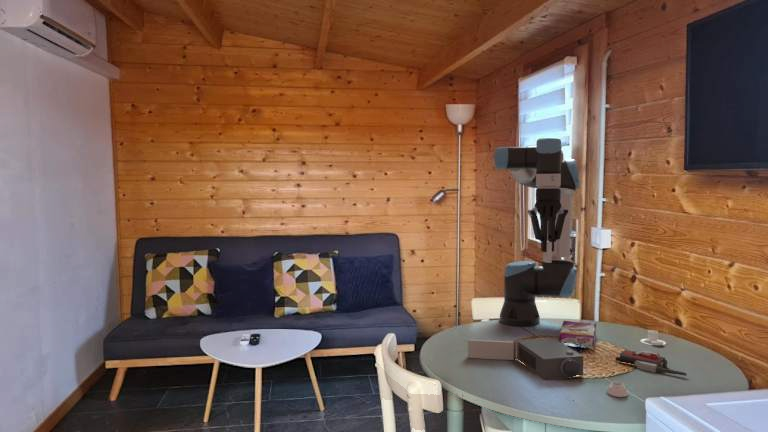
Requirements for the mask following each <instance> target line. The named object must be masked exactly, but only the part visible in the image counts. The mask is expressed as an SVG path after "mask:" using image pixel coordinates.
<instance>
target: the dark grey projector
mask: <svg viewBox="0 0 768 432" xmlns="http://www.w3.org/2000/svg"><path fill="white" fill-rule="evenodd" d="M517 359H518V360H520V361H521V362H523V363H524V364H525V365H526V366H525V368H527V369H528V370H529V371H531V372H533V374H535V375H536V376H537V377H538V378H540V379H542V380H543V381H549V380H550V381H551V380H562V379H563V380H564V379H570V378H569V377H573V376H576V375H583V376H584V355H583V354H581V353H579V352H577V351H576V350H573V349H572V347H567V346H565V345H564V344H562V343H560V342H559V340H557V339H555V338H554V337H550V338H549V337H548V338H547V337H546V338H536V339H535V338H534V339H533V338H532V339H521V340H520V339H519V340H516V360H517ZM518 360H517V361H518Z"/></svg>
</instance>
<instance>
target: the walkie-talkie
mask: <svg viewBox="0 0 768 432" xmlns="http://www.w3.org/2000/svg"><path fill="white" fill-rule="evenodd" d="M615 361H618V362H620V361H621V362H626V363H631V364H634V365H635V366H634V367H636V368H637V369H639V370H641V371H646V372H649V373H650V372H651V373H658V372H661V373H662V372H663V373H667V374H672V375H680V376H687V373H686V372H685V371H684V372H683V371H680V370H679V371H678V370H675V369H669V368H667V366H668V360H666V357H664V356H661V355H660V353H659V352H656V351H650V350H646V349H645V350H642V351H637V349H633V350H628V349H625V350H623V351H622V352H621V353H620V354H619V356H617V357H615Z"/></svg>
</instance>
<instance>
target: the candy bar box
mask: <svg viewBox="0 0 768 432" xmlns="http://www.w3.org/2000/svg"><path fill="white" fill-rule="evenodd" d="M558 335H559V337H558V341H559V342H572V343H579V344H582V345H583V346H584V347H585V349H584V350H591V349H594V350H595V344H596V338H597V324H596V323H593V322H592V323H591V322H581V321H569V320H563V322H562V325H561V327H560V330H559V334H558Z"/></svg>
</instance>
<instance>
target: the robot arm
mask: <svg viewBox="0 0 768 432" xmlns="http://www.w3.org/2000/svg"><path fill="white" fill-rule="evenodd" d="M493 159H494V167H495V168H496V169H497V170H504V171H505V170H508V171H509V172H510V173H511V177H512V179H514V181H515V182H517V183H519V184H520V185H522V186H525V187H528V188H531V189H535V204H534V207H533V208H532V209H528V210H527V214H528V216H529V217H530V220H531V221H530V222H531V225H532V230H533V233H534V234H533V235H534V238H535V240H538V241H540V251H541V252H543V254H542V255H543V256H542V257H543V258H542V260H541V265H537V263H536V261H535V260H520V261H514V262H509V263H507V264H506V265H505V267H504V274H503V278H504V280H503V281H504V301H503V304H502V308H501V310H500V313H499V321H500V322H501V323H503V324H505V325H509V326H514V327H515V326H517V327H530V326H531V327H532V326H536V325H539V324H540V322H541V321H540V319H541V317H540V314H539V310H538V307H537V304H536V297H550V298H558V299H561V298H571V297H573V296H574V293H575V289H576V283H577V276H578V267H576V266H574V265H575V264H574V261H573V260H572V259H571V258H570V257H571V255H570V253H571V220H572V218H571V216H572V215H571V214H572V197H573V196H574V195H575V194H576V191H577V190H578V189H579V188H580V180H579V170H578V163H577V161H576V159H574V158H565V157H564V151H562V140H561V138H559V137H543V138H542V137H541V138H538V139H537V140H536V145H535V146H534V145H533V146H531V145H530V146H499V147H496V148H495V151H494V158H493ZM537 214H538V215H539V218H538V215H537ZM539 219H540V222H539Z"/></svg>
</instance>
